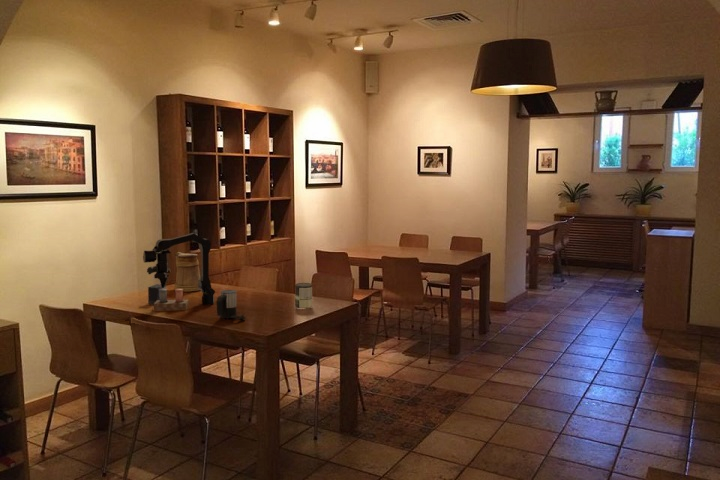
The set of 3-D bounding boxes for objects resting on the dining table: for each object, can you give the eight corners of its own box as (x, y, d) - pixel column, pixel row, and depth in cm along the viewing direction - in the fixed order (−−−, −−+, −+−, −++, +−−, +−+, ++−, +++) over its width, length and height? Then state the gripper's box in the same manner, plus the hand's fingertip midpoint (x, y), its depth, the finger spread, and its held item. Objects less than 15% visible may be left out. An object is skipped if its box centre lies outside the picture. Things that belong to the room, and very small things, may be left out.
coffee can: (291, 308, 348) (291, 285, 346) (300, 305, 357) (300, 282, 355) (306, 310, 343) (306, 286, 342) (315, 306, 352) (315, 283, 351)
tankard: (186, 293, 385) (186, 256, 383) (164, 289, 399) (164, 252, 396) (208, 289, 400) (208, 253, 397) (186, 285, 414) (186, 250, 411)
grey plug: (168, 302, 345) (167, 288, 344) (166, 304, 340) (166, 290, 340) (160, 302, 344) (159, 289, 343) (158, 304, 340) (158, 290, 339)
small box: (157, 304, 353) (157, 287, 351) (147, 304, 354) (147, 287, 353) (166, 301, 363) (166, 284, 362) (157, 300, 364) (156, 283, 363)
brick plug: (183, 302, 346) (183, 288, 345) (182, 303, 342) (182, 290, 341) (175, 302, 346) (175, 288, 345) (174, 303, 341) (174, 290, 340)
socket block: (188, 306, 350) (188, 299, 349) (186, 310, 340) (186, 303, 339) (157, 306, 347) (156, 300, 346) (153, 310, 337) (153, 303, 337)
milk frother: (223, 315, 329) (223, 289, 328) (250, 316, 328) (250, 290, 326) (214, 321, 315) (214, 294, 314) (243, 322, 314) (242, 295, 312)
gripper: (151, 259, 347) (151, 285, 349) (144, 264, 329) (145, 291, 331) (170, 258, 349) (171, 284, 351) (165, 263, 331) (165, 290, 333)
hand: (163, 287), depth 341 cm, fingers closed
